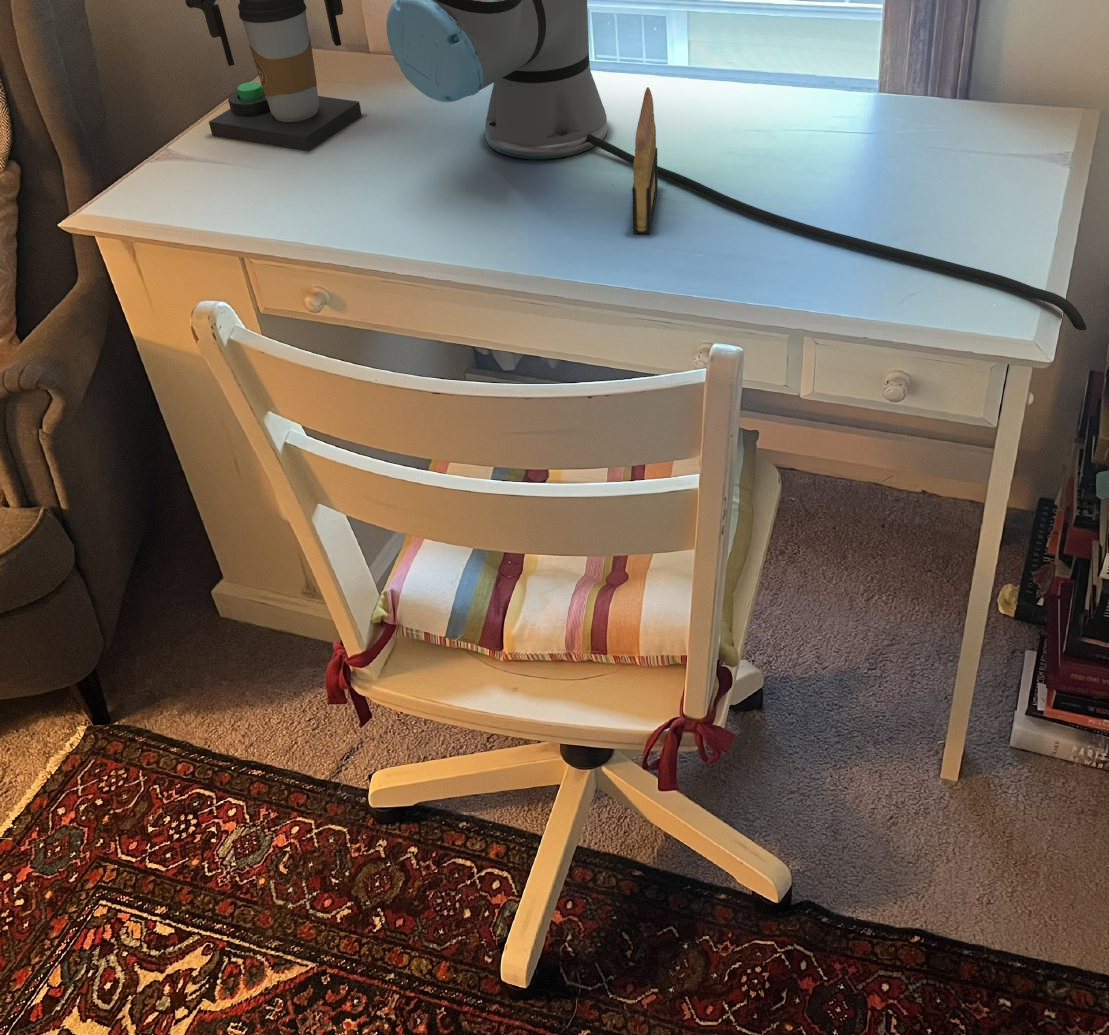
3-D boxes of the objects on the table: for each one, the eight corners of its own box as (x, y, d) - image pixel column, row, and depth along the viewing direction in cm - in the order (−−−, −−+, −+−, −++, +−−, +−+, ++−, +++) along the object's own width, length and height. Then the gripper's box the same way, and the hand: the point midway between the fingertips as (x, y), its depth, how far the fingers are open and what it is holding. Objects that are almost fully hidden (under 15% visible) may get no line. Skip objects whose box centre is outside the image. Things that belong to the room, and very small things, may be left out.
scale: (362, 115, 146) (357, 89, 144) (309, 151, 139) (303, 124, 136) (267, 101, 152) (261, 76, 150) (211, 135, 145) (204, 109, 142)
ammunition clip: (650, 234, 116) (649, 124, 108) (632, 234, 117) (630, 124, 109) (657, 189, 124) (657, 83, 116) (641, 189, 124) (639, 84, 116)
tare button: (269, 94, 146) (266, 83, 145) (254, 103, 144) (251, 92, 143) (250, 92, 147) (247, 80, 146) (235, 100, 145) (232, 89, 144)
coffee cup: (257, 109, 145) (227, -10, 135) (317, 96, 147) (292, -23, 137) (272, 131, 139) (242, 8, 129) (335, 116, 142) (310, -6, 132)
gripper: (341, -161, 129) (374, 26, 143) (126, -129, 124) (183, 61, 138) (352, -150, 124) (385, 43, 138) (128, -116, 119) (187, 80, 133)
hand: (284, 52), depth 138 cm, fingers open, 13 cm apart
